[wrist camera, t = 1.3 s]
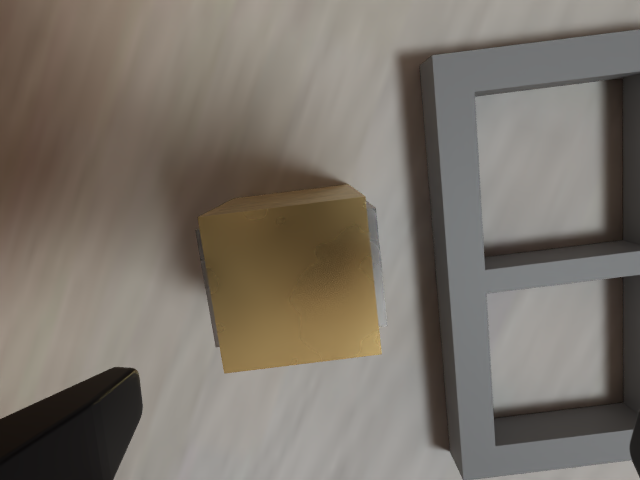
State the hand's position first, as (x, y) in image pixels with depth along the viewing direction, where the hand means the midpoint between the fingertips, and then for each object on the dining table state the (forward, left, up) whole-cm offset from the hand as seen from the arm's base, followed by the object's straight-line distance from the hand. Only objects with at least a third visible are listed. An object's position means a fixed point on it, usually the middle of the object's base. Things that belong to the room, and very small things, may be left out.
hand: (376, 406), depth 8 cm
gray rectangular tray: (+9, -1, -12) cm, 16 cm away
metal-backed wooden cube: (-2, +1, -12) cm, 13 cm away
